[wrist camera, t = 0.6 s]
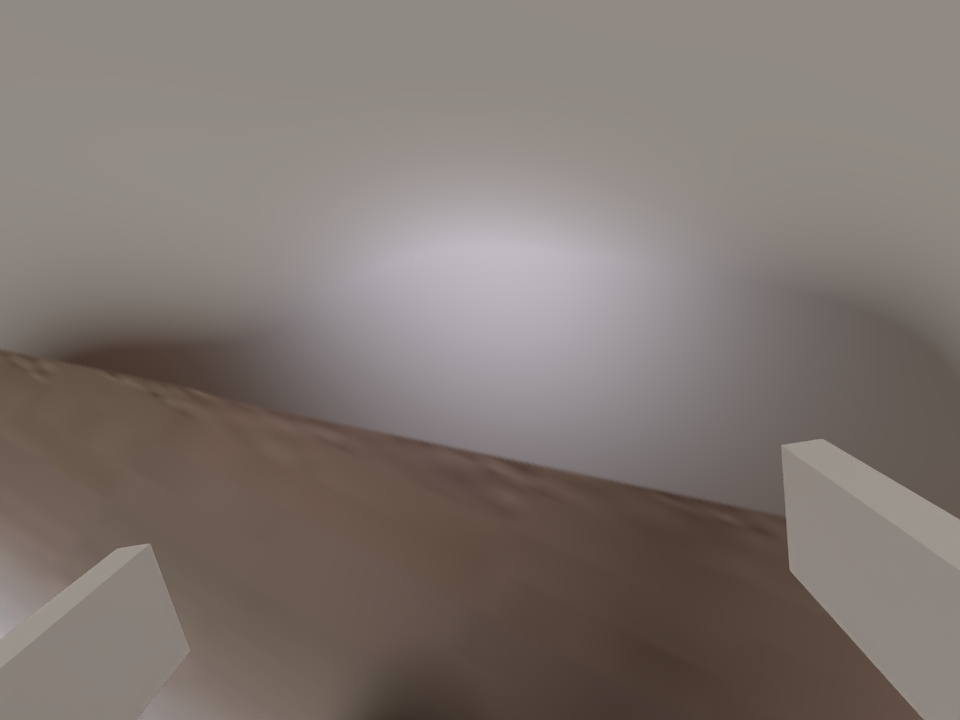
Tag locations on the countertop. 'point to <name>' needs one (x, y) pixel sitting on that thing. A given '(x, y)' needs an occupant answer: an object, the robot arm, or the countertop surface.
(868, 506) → the robot arm
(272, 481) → the countertop surface
